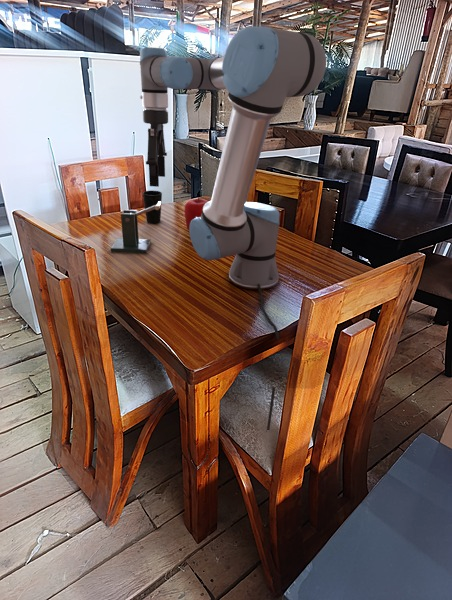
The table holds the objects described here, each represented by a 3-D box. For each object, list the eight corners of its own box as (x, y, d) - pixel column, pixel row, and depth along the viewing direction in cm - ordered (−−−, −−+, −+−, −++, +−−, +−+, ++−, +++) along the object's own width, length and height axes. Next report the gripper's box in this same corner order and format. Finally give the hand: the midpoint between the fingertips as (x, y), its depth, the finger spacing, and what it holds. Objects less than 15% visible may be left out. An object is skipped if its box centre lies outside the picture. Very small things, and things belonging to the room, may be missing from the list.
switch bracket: (151, 243, 145) (149, 208, 139) (146, 253, 136) (144, 217, 130) (117, 241, 145) (114, 207, 138) (110, 252, 136) (107, 215, 130)
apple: (186, 226, 162) (186, 193, 156) (211, 228, 162) (212, 195, 155) (182, 235, 153) (182, 200, 146) (209, 237, 153) (210, 202, 146)
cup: (140, 222, 164) (138, 193, 158) (151, 217, 170) (150, 189, 164) (155, 226, 161) (154, 196, 155) (166, 221, 167) (165, 192, 161)
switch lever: (163, 205, 136) (160, 199, 135) (160, 210, 131) (157, 203, 130) (129, 219, 138) (125, 213, 137) (125, 224, 134) (122, 218, 132)
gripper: (150, 105, 130) (152, 172, 140) (133, 111, 108) (138, 190, 118) (173, 106, 130) (174, 173, 140) (161, 113, 108) (163, 191, 118)
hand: (157, 181), depth 129 cm, fingers open, 13 cm apart
